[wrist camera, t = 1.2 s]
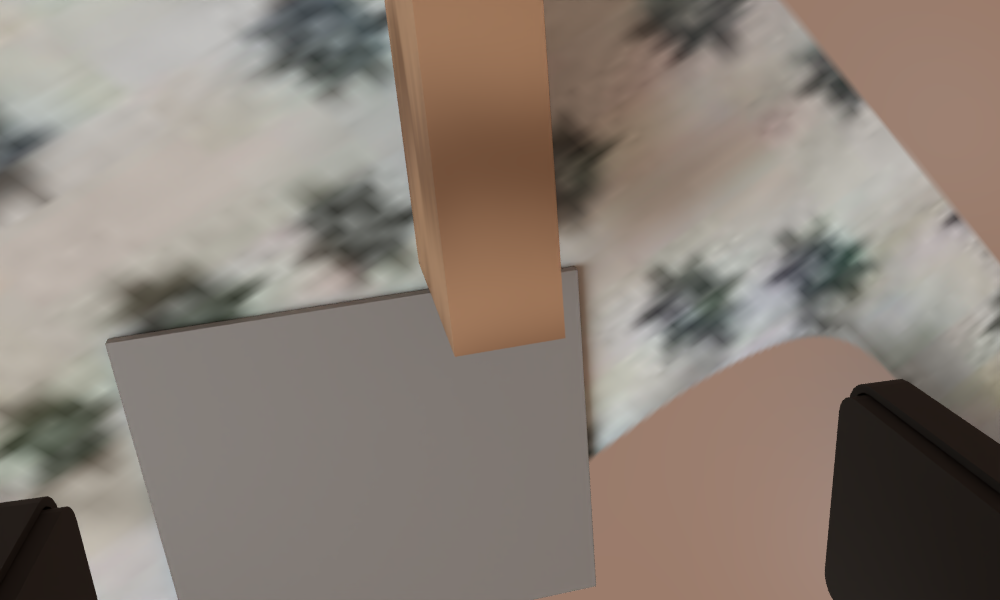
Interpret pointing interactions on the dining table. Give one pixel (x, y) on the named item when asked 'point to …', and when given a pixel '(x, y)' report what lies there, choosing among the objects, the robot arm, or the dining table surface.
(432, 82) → the slab
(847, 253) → the dining table surface
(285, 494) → the mat
